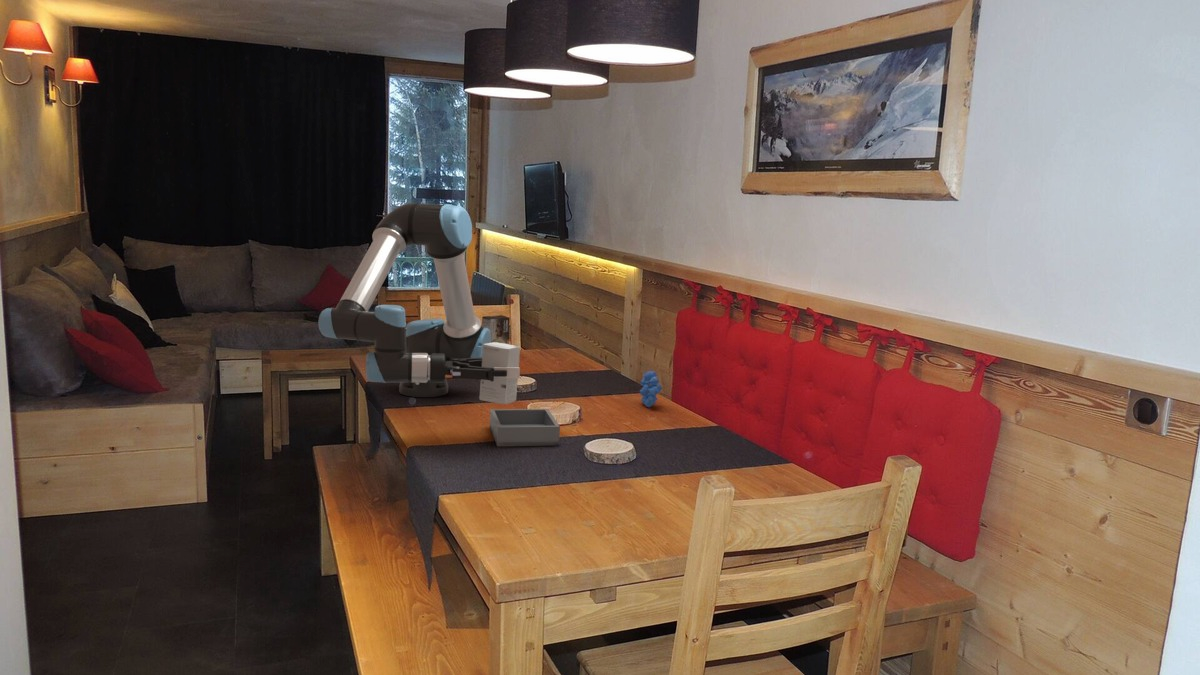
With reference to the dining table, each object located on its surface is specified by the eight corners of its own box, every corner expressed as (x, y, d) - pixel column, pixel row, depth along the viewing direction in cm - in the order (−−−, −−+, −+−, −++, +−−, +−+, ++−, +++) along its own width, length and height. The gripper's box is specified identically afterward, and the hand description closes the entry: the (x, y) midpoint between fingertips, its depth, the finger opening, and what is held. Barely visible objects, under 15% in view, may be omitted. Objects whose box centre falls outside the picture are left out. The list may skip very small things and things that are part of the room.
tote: (489, 426, 230) (490, 409, 229) (547, 426, 234) (547, 408, 233) (497, 446, 212) (497, 427, 212) (559, 445, 216) (559, 426, 215)
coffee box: (500, 354, 333) (501, 314, 330) (509, 357, 328) (510, 317, 325) (480, 356, 327) (481, 315, 324) (489, 359, 322) (490, 318, 319)
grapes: (668, 411, 257) (670, 373, 255) (647, 412, 255) (650, 373, 253) (654, 402, 268) (656, 365, 266) (634, 402, 266) (636, 366, 264)
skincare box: (478, 400, 217) (480, 344, 214) (491, 395, 222) (493, 340, 220) (506, 405, 213) (508, 348, 211) (518, 400, 219) (520, 344, 216)
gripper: (428, 373, 224) (512, 373, 228) (429, 392, 203) (521, 392, 207) (428, 345, 222) (513, 346, 227) (430, 362, 201) (523, 363, 206)
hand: (517, 368), depth 217 cm, fingers closed on skincare box, 9 cm apart
